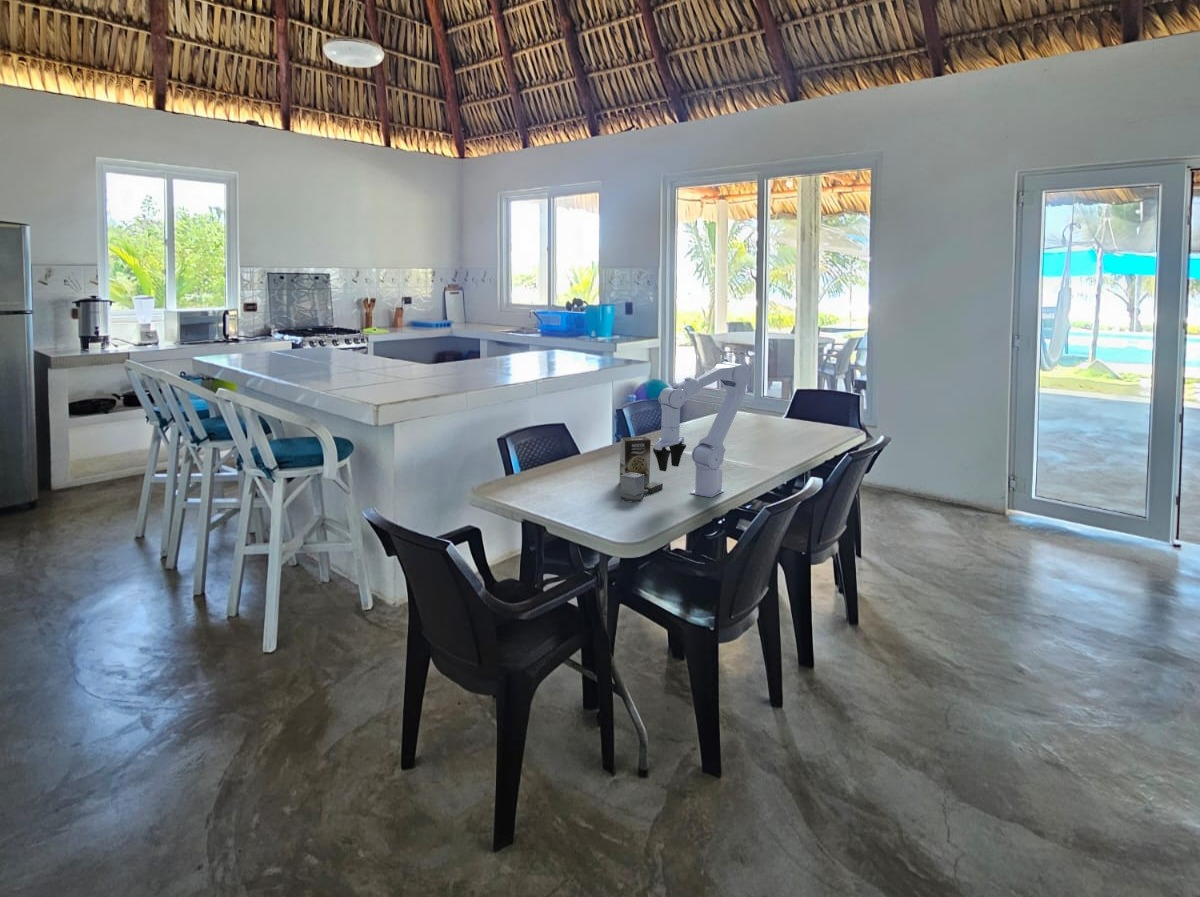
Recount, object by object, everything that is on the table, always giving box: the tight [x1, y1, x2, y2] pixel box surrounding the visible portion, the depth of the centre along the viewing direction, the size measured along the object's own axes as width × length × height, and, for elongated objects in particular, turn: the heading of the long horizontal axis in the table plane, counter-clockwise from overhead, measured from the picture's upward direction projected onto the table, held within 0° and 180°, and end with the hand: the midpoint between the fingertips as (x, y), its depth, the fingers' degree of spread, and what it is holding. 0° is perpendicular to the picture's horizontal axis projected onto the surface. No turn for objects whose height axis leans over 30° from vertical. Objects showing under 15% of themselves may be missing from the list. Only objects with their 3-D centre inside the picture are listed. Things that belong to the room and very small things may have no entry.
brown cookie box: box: [619, 436, 652, 485], centre depth 266 cm, size 9×6×16 cm
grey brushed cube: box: [620, 472, 644, 496], centre depth 250 cm, size 5×5×6 cm
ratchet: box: [620, 481, 664, 503], centre depth 256 cm, size 20×7×4 cm, turn 144°
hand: (669, 468), depth 248 cm, fingers open, 7 cm apart
